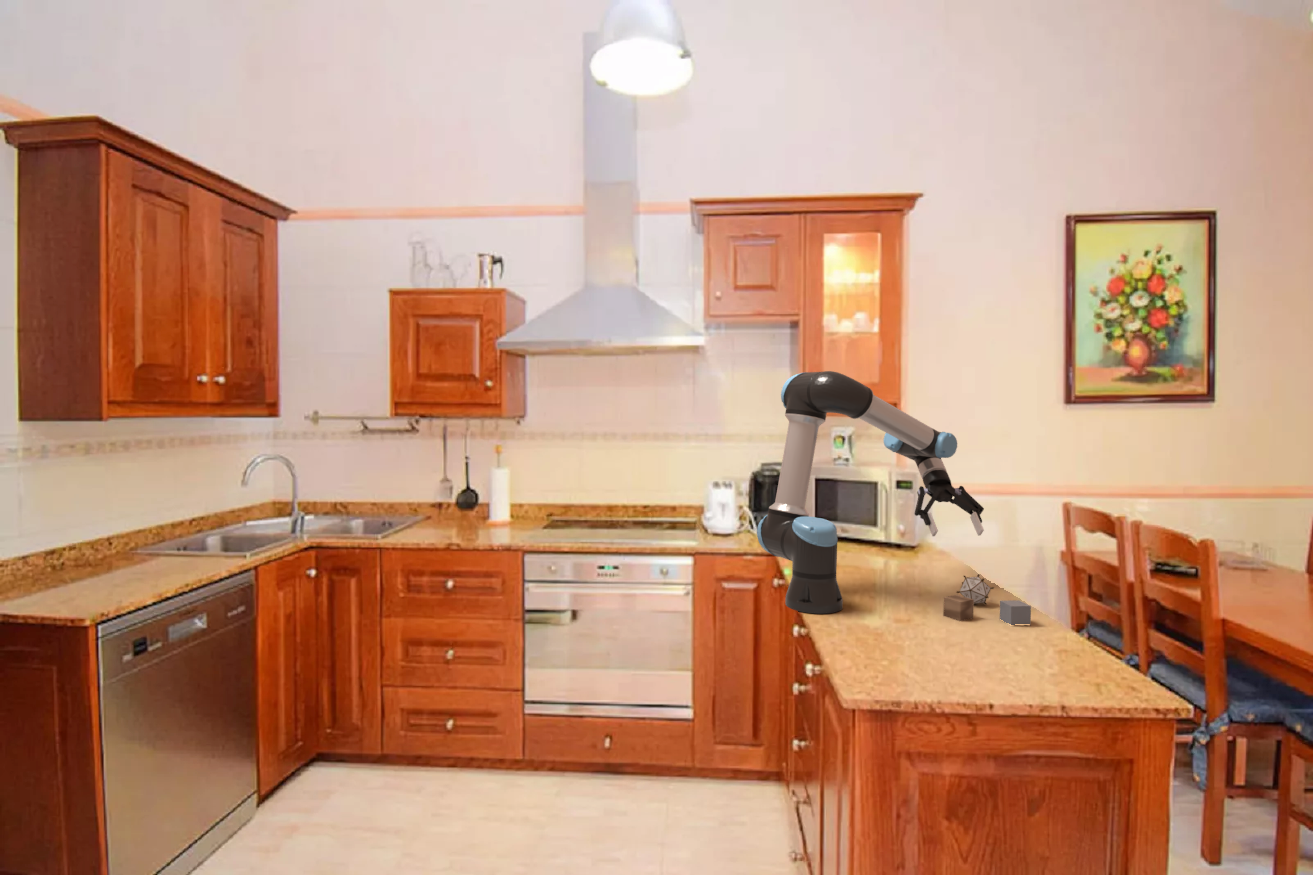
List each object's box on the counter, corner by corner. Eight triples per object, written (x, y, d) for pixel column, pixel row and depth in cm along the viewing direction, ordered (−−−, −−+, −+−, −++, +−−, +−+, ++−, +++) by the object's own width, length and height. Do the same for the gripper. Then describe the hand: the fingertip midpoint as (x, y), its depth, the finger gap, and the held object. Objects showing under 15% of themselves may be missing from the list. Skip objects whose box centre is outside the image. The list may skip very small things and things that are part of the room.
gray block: (1010, 626, 168) (1011, 606, 167) (999, 620, 173) (1000, 600, 172) (1030, 626, 168) (1031, 606, 168) (1018, 619, 173) (1019, 600, 173)
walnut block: (960, 621, 171) (960, 602, 171) (943, 616, 176) (943, 597, 175) (973, 618, 174) (973, 599, 173) (956, 613, 178) (956, 594, 178)
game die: (981, 619, 185) (1000, 596, 179) (950, 606, 186) (968, 583, 180) (981, 596, 192) (999, 573, 186) (951, 584, 193) (968, 561, 187)
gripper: (969, 483, 214) (994, 539, 200) (891, 484, 213) (911, 541, 198) (978, 467, 208) (1005, 525, 194) (898, 468, 207) (920, 526, 193)
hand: (958, 533), depth 196 cm, fingers open, 13 cm apart
